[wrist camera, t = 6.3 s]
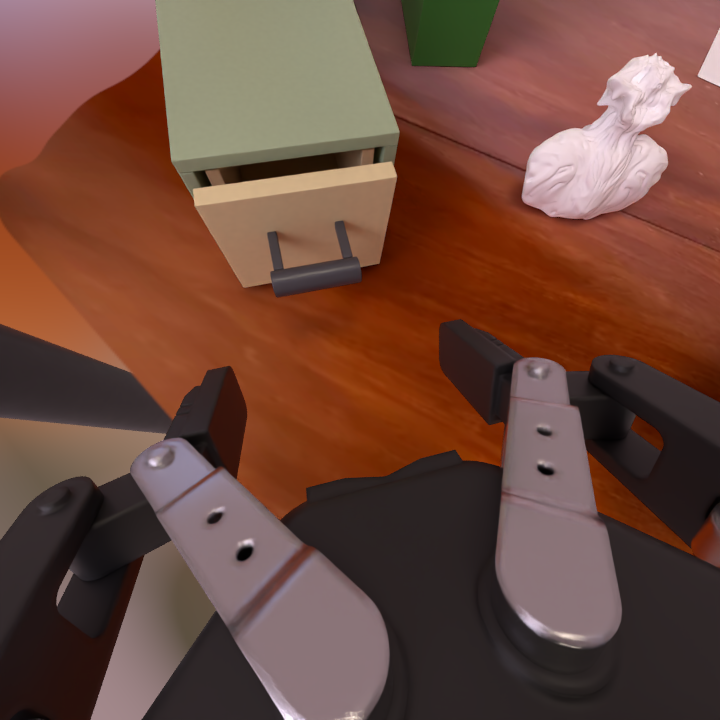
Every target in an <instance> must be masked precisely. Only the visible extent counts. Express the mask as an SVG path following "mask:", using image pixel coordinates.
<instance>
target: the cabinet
mask: <svg viewBox="0 0 720 720" xmlns="http://www.w3.org/2000/svg"><path fill="white" fill-rule="evenodd" d="M155 1H156V11H157V22H158V32H159V42H160V52H161V62H162V72H163V82H164V92H165V102H166V112H167V122H168V132H169V142H170V152H171V161H172V163H173V165H174V166H175V168H176V170H177V172H178V173H179V175H180V176H181V178H182V180H183V181H184V183H185V185H186V187H187V188H188V190H189V192H190V193H191V195H192V197H193V199H194V195H193V189H196V188H203V187H210V186H212V185H211V183H210V181H209V179H208V176H207V174H206V172H205V170H208V169H216V168H224V167H231V166H239V165H246V164H254V163H261V162H269V161H277V160H284V159H292V158H299V157H307V156H315V155H322V154H330V153H337V152H345V151H353V150H360V149H368V148H374V158H373V164H377V163H384V162H391V161H392V163H393V166H394V161H395V156H396V150H397V144H398V139H399V134H400V131H399V129H398V126H397V123H396V120H395V117H394V115H393V112H392V109H391V106H390V103H389V100H388V98H387V95H386V92H385V89H384V86H383V84H382V81H381V78H380V75H379V72H378V70H377V67H376V64H375V61H374V58H373V55H372V53H371V50H370V47H369V44H368V41H367V39H366V36H365V33H364V30H363V27H362V25H361V22H360V19H359V16H358V13H357V11H356V8H355V5H354V2H353V0H155Z"/></svg>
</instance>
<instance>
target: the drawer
mask: <svg viewBox="0 0 720 720" xmlns="http://www.w3.org/2000/svg"><path fill="white" fill-rule="evenodd" d="M373 158H374V148H368V149H360V150H353V151H345V152H337V153H330V154H322V155H315V156H307V157H299V158H292V159H284V160H277V161H269V162H261V163H254V164H246V165H239V166H231V167H224V168H216V169H208V170H205V172H206V174H207V176H208V179H209V181H210V183H211V185H212V186H210V187H203V188H196V189H193V195H194V203H195V207H196V209H197V211H198V212H199V214H200V216H201V217H202V219H203V221H204V222H205V224H206V226H207V227H208V229H209V231H210V232H211V234H212V236H213V237H214V239H215V241H216V243H217V244H218V246H219V248H220V249H221V251H222V253H223V254H224V256H225V258H226V259H227V261H228V263H229V264H230V266H231V268H232V269H233V271H234V273H235V274H236V276H237V278H238V279H239V281H240V283H241V284H242V286H243V288H245V287H251V286H257V285H262V284H268V283H272V285H273V289H274V293H275V295H276V297H283V296H289V295H294V294H299V293H305V292H310V291H316V290H321V289H327V288H332V287H337V286H343V285H348V284H354V283H359V282H361V280H362V273H361V267H363V266H369V265H375V264H379V263H380V258H381V254H382V249H383V244H384V239H385V234H386V229H387V224H388V219H389V215H390V210H391V205H392V200H393V195H394V190H395V185H396V181H397V175H396V172H395V169H394V166H393V163H392V161H391V162H384V163H377V164H373Z"/></svg>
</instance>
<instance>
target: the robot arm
mask: <svg viewBox="0 0 720 720" xmlns="http://www.w3.org/2000/svg"><path fill="white" fill-rule="evenodd" d="M439 361H440V366H441V369H442V371H443V373H444V374H445V375H446V376H447V377H448V379H449V380H450V381H451V382H452V383H453V384H454V385H455V387H456V388H457V389H458V390H459V391H460V392H461V393H462V395H463V396H464V397H465V398H466V399H467V400H468V402H469V403H470V404H471V405H472V406H473V407H474V408H475V410H476V411H477V412H478V413H479V414H480V415H481V417H482V418H483V419H484V420H485V421H486V422H487V423H488V425H491V424H495V423H499V422H503V423H504V424H505V428H504V436H503V444H502V453H501V462H500V467H499V466H496V465H492V464H488V463H484V462H478V461H462V459H461V458H460V456H459V455H458V453H457V452H456V450H452V451H448V452H444V453H441V454H437V455H433V456H429V457H425V458H421V459H419V460H417V461H415V462H413V463H411V464H409V465H407V466H405V467H403V468H401V469H400V470H398V471H396V472H394V473H392V474H390V475H388V476H384V477H364V478H344V479H340V480H336V481H332V482H328V483H324V484H320V485H316V486H312V487H309V488H306V491H307V501H306V502H304V503H302V504H301V505H299V506H298V507H296V508H295V509H293V510H292V511H290V512H289V513H288V514H287V515H285V516H284V517H283V518H282V519H281V520H280V521H279V520H278V519H277V518H276V517H275V516H274V515H273V514H272V513H271V512H270V511H269V510H268V509H267V508H266V507H265V506H264V505H263V504H261V503H260V502H259V501H258V500H257V499H256V498H255V497H254V496H253V495H252V494H251V493H250V492H249V491H248V490H247V489H246V488H245V487H243V486H242V485H241V484H240V483H239V482H238V481H237V480H236V479H237V473H238V467H239V461H240V455H241V449H242V444H243V438H244V432H245V426H246V420H247V408H246V403H245V400H244V397H243V395H242V392H241V390H240V387H239V384H238V382H237V379H236V376H235V374H234V371H233V369H232V368H231V367H230V366H227V367H222V368H217V369H212V370H208V371H207V373H206V375H205V377H204V379H203V382H202V384H201V386H196V387H194V388H193V389H192V390H191V391H190V392H189V393H188V394H187V395H186V396H185V397H184V399H183V401H182V403H181V405H180V408H179V409H178V411H177V413H176V416H175V418H174V420H173V422H172V424H171V426H170V428H169V430H168V432H167V434H166V436H165V438H164V440H163V441H160V442H158V443H156V444H154V445H152V446H150V447H149V448H147V449H146V450H145V451H143V452H142V453H141V454H140V455H139V456H138V457H137V458H136V459H135V460H134V462H133V463H132V465H131V468H130V473H128V474H126V475H124V476H122V477H120V478H117V479H115V480H113V481H111V482H108V483H106V484H104V485H102V486H99V487H97V486H96V485H95V483H94V482H93V481H92V480H91V479H90V478H88V477H83V476H82V477H75V478H71V479H68V480H65V481H62V482H60V483H58V484H56V485H54V486H52V487H51V488H49V489H47V490H46V491H44V492H43V493H41V494H40V495H39V496H37V497H36V498H35V499H34V500H33V501H32V502H30V503H29V504H28V505H27V506H26V508H25V509H24V510H23V511H22V513H21V514H20V515H19V516H18V518H17V519H16V520H15V522H14V523H13V525H12V526H11V527H10V528H9V530H8V531H7V532H6V534H5V535H4V536H3V538H2V539H1V540H0V720H90V719H91V716H92V713H93V710H94V707H95V704H96V701H97V698H98V695H99V692H100V689H101V686H102V682H103V680H104V677H105V674H106V671H107V668H108V665H109V661H110V658H111V655H112V652H113V649H114V646H115V643H116V640H117V637H118V634H119V631H120V628H121V625H122V622H123V619H124V616H125V613H126V610H127V607H128V603H129V601H130V598H131V594H132V591H133V588H134V585H135V582H136V579H137V576H138V573H139V570H140V567H141V564H142V561H143V557H144V555H145V554H147V553H149V552H151V551H152V550H154V549H156V548H158V547H160V546H162V545H164V544H165V543H167V542H169V541H171V540H172V541H173V543H174V544H175V546H176V547H177V549H178V550H179V552H180V554H181V555H182V557H183V558H184V560H185V562H186V563H187V565H188V566H189V568H190V569H191V571H192V573H193V574H194V575H195V577H196V579H197V580H198V582H199V583H200V585H201V587H202V588H203V590H204V591H205V593H206V594H207V596H208V598H209V599H210V601H211V602H212V604H213V605H214V607H215V609H216V611H215V613H214V614H213V616H212V617H211V619H210V620H209V621H208V623H207V625H206V626H205V627H204V629H203V631H202V632H201V633H200V635H199V636H198V638H197V639H196V641H195V642H194V643H193V645H192V647H191V648H190V649H189V651H188V652H187V654H186V655H185V657H184V658H183V660H182V661H181V663H180V664H179V666H178V667H177V669H176V670H175V671H174V673H173V674H172V676H171V677H170V679H169V680H168V682H167V683H166V685H165V686H164V688H163V689H162V691H161V692H160V694H159V695H158V696H157V698H156V699H155V701H154V702H153V704H152V705H151V707H150V708H149V710H148V711H147V713H146V714H145V716H144V717H143V719H142V720H720V402H718V401H716V400H714V399H712V398H710V397H708V396H706V395H704V394H702V393H701V392H699V391H697V390H695V389H693V388H691V387H689V386H687V385H685V384H683V383H681V382H679V381H678V380H676V379H674V378H672V377H670V376H668V375H666V374H664V373H662V372H660V371H658V370H656V369H655V368H653V367H651V366H649V365H647V364H645V363H643V362H641V361H639V360H636V359H633V358H630V357H625V356H619V355H603V356H598V357H596V358H594V359H593V360H592V364H591V367H590V371H573V372H565V369H564V368H563V367H562V366H561V365H559V364H558V363H556V362H554V361H551V360H548V359H543V358H524V357H522V356H521V355H519V354H518V353H516V352H515V351H514V350H512V349H511V348H509V347H508V346H506V345H504V344H503V343H502V342H501V341H499V340H497V339H496V338H495V337H494V336H492V335H491V334H489V333H488V332H485V331H482V330H479V329H476V328H475V329H474V328H472V327H471V326H470V325H468V324H467V323H466V322H464V321H463V320H461V319H459V320H454V321H449V322H444V323H441V325H440V329H439ZM636 415H637V416H639V417H640V418H642V419H643V420H644V421H646V422H647V423H649V424H650V425H652V426H653V427H654V428H656V429H657V430H658V431H659V433H660V434H661V436H662V438H663V442H664V446H663V449H662V451H659V450H658V449H657V448H655V447H654V446H653V445H651V444H650V443H649V442H647V441H646V440H645V439H643V438H642V437H641V436H639V435H638V434H637V433H635V432H634V431H633V430H631V429H630V428H631V426H632V423H633V421H634V418H635V416H636ZM586 450H587V451H588V452H589V453H590V454H591V455H592V456H593V457H595V458H596V459H597V460H598V461H599V462H600V463H601V464H602V465H603V466H604V467H605V468H606V469H607V470H608V471H609V472H611V473H612V474H613V475H614V476H615V477H616V478H617V479H618V480H619V481H620V482H621V483H622V484H623V485H624V486H625V487H626V488H628V489H629V490H630V491H631V492H632V493H633V494H634V495H635V496H636V497H637V498H638V499H639V500H640V501H641V502H642V503H643V504H645V505H646V506H647V507H648V508H649V509H650V510H651V511H652V512H653V513H654V514H655V515H656V516H657V517H658V518H659V519H660V520H662V521H663V522H664V523H665V524H666V525H667V526H668V527H669V528H670V529H671V530H672V531H673V532H674V533H675V534H676V535H678V536H679V537H680V538H681V539H682V540H683V541H684V542H685V543H686V544H687V545H688V546H689V547H690V548H691V549H692V551H693V554H694V556H693V555H691V554H689V553H686V552H684V551H682V550H680V549H678V548H676V547H673V546H671V545H669V544H667V543H665V542H663V541H660V540H658V539H656V538H654V537H652V536H650V535H647V534H645V533H643V532H641V531H639V530H637V529H634V528H632V527H630V526H628V525H626V524H624V523H621V522H619V521H617V520H615V519H613V518H611V517H608V516H606V515H604V514H602V513H600V512H598V511H597V510H596V504H595V498H594V493H593V487H592V481H591V475H590V469H589V464H588V458H587V452H586ZM68 569H70V570H71V571H72V572H73V573H74V574H73V576H72V578H71V580H70V582H69V584H68V586H67V588H66V590H65V592H64V594H63V596H62V598H61V600H60V602H59V604H58V606H57V605H56V597H57V592H58V589H59V587H60V585H61V583H62V581H63V579H64V577H65V575H66V573H67V571H68Z"/></svg>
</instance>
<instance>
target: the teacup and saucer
mask: <svg viewBox="0 0 720 720" xmlns="http://www.w3.org/2000/svg"><path fill="white" fill-rule="evenodd" d="M698 77H700V78H702V79H704V80H706V81H709V82H711V83H713V84H715V85H717V86H719V87H720V29H719V31H718V33H717V35H716V37H715V39H714V42H713V44H712V46H711V48H710V50H709V52H708V54H707V56H706V59H705V61H704V63H703V65H702V67H701V69H700V71H699V74H698Z"/></svg>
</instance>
